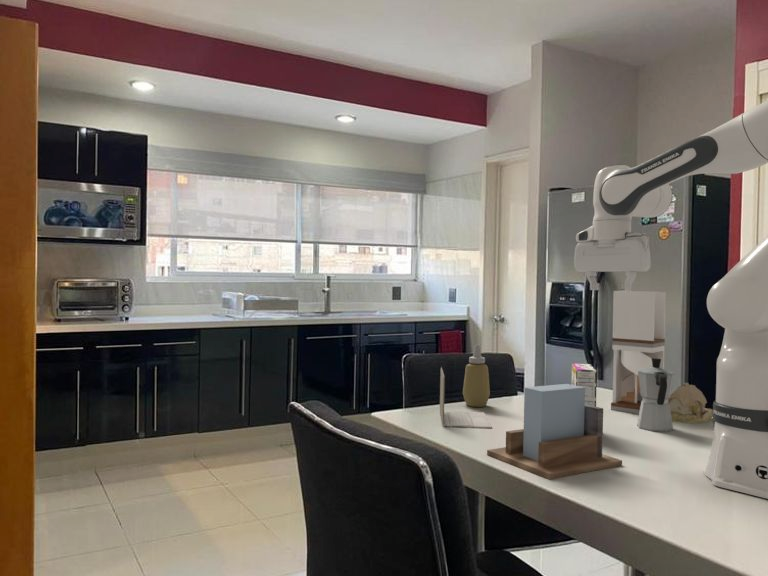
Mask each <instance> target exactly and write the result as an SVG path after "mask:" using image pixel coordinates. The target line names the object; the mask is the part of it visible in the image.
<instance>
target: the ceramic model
mask: <svg viewBox="0 0 768 576" xmlns="http://www.w3.org/2000/svg"><path fill="white" fill-rule="evenodd" d="M681 384H682V385H679V386H677V387H676V389H675V390H674V391H673V392H671V397H670V398H669V399H668V403H669V404H670V410H671V418H672V421H673V422H679V423H685V424H686V423H688V424H690V423H691V424H699V423H705V422H708V421H711V420H712V419H713V408H706V404H707V403H708V402H707V399H706V397H705V395H704V394H703V391H701V390H700V389H699V388H697V387H696V385H694V384H689V382H683V383H681Z"/></svg>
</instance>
